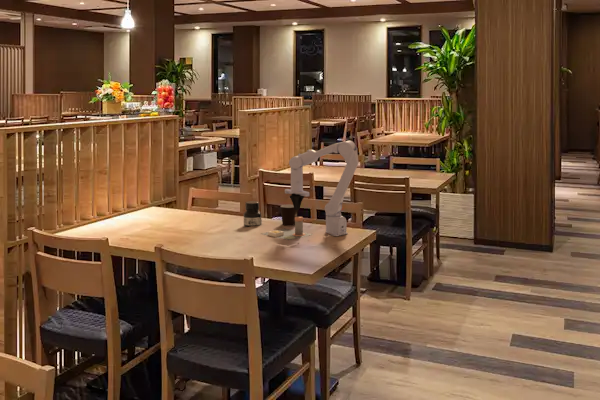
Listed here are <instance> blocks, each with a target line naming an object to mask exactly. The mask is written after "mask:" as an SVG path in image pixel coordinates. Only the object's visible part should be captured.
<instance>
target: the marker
mask: <svg viewBox="0 0 600 400" xmlns="http://www.w3.org/2000/svg"><path fill="white" fill-rule="evenodd" d="M303 221H304V217H303V216H297V217H295V225H294V230H295V235H303V232H304V222H303Z"/></svg>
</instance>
